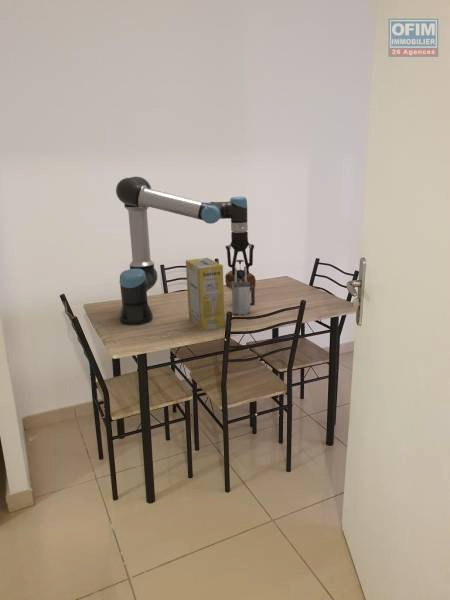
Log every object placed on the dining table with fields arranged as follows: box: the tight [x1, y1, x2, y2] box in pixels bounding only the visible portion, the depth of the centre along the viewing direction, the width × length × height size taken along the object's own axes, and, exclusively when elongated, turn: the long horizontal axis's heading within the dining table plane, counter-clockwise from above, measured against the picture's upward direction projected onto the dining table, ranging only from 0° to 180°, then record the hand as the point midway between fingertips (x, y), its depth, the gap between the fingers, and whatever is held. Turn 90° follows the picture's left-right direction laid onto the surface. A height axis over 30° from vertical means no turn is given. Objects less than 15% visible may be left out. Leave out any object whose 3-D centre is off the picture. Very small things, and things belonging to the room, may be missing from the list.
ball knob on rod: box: [237, 269, 245, 284], centre depth 220 cm, size 4×4×15 cm
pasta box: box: [185, 257, 226, 332], centre depth 209 cm, size 18×10×28 cm, turn 23°
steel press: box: [231, 281, 256, 317], centre depth 223 cm, size 11×8×15 cm
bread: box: [224, 270, 257, 292], centre depth 266 cm, size 19×11×10 cm, turn 26°
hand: (240, 280), depth 220 cm, fingers closed on ball knob on rod, 4 cm apart
